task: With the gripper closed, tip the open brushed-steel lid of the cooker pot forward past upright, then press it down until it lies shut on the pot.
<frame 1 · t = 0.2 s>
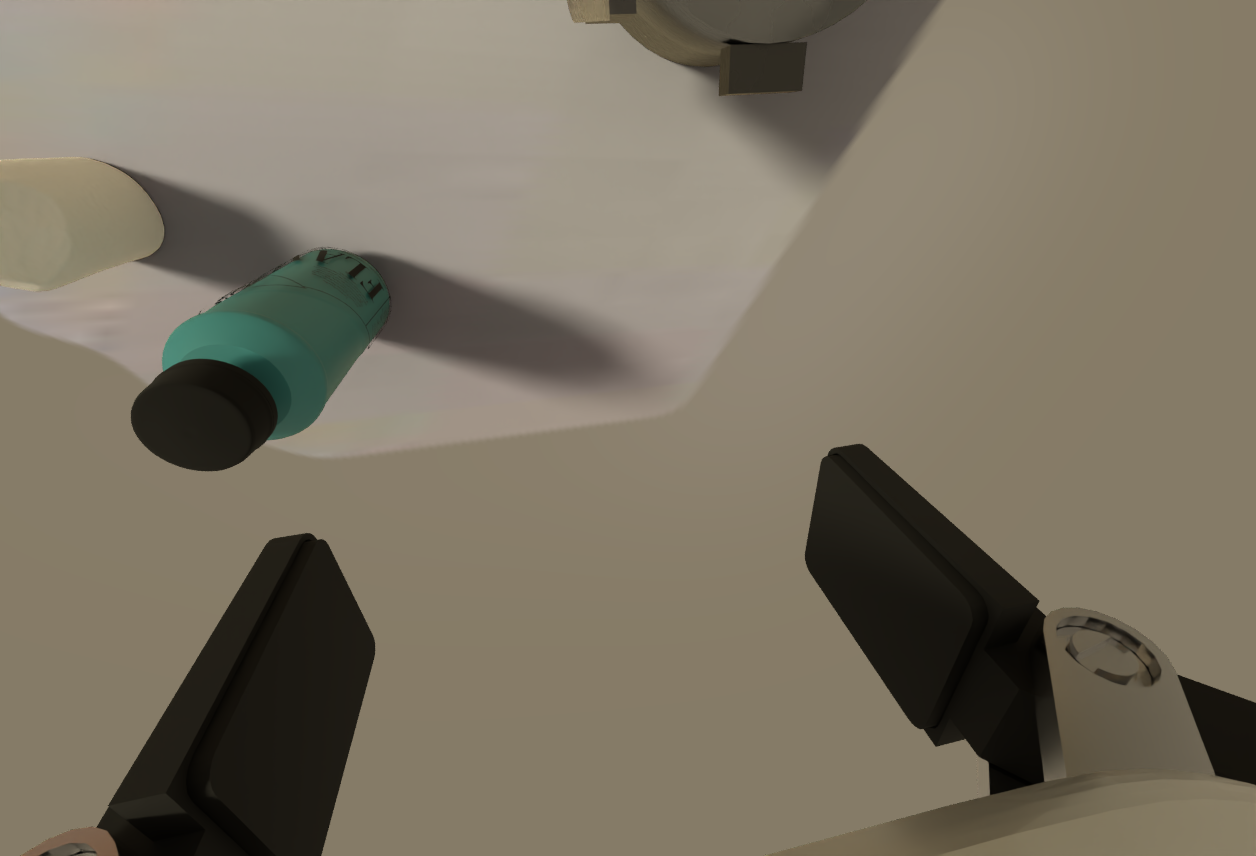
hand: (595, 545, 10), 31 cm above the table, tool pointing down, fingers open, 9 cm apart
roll: (108, 210, 31), on the table
beverage bottle: (348, 289, 35), on the table
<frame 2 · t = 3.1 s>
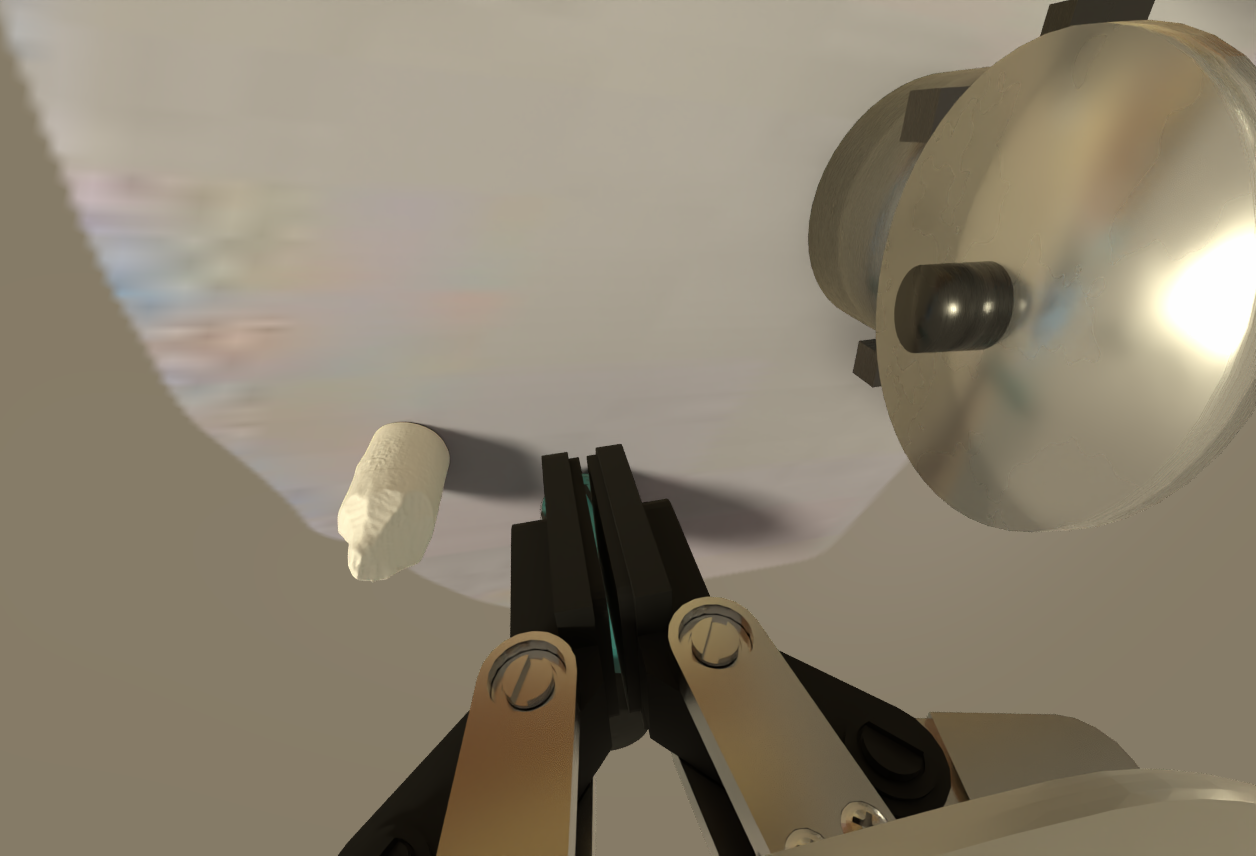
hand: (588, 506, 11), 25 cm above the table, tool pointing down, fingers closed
cooker pot: (915, 211, 35), on the table
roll: (409, 453, 38), on the table
cooker lid: (965, 307, 19), point 18 cm above the table, hinge at 100.0°
beverage bottle: (576, 490, 42), on the table
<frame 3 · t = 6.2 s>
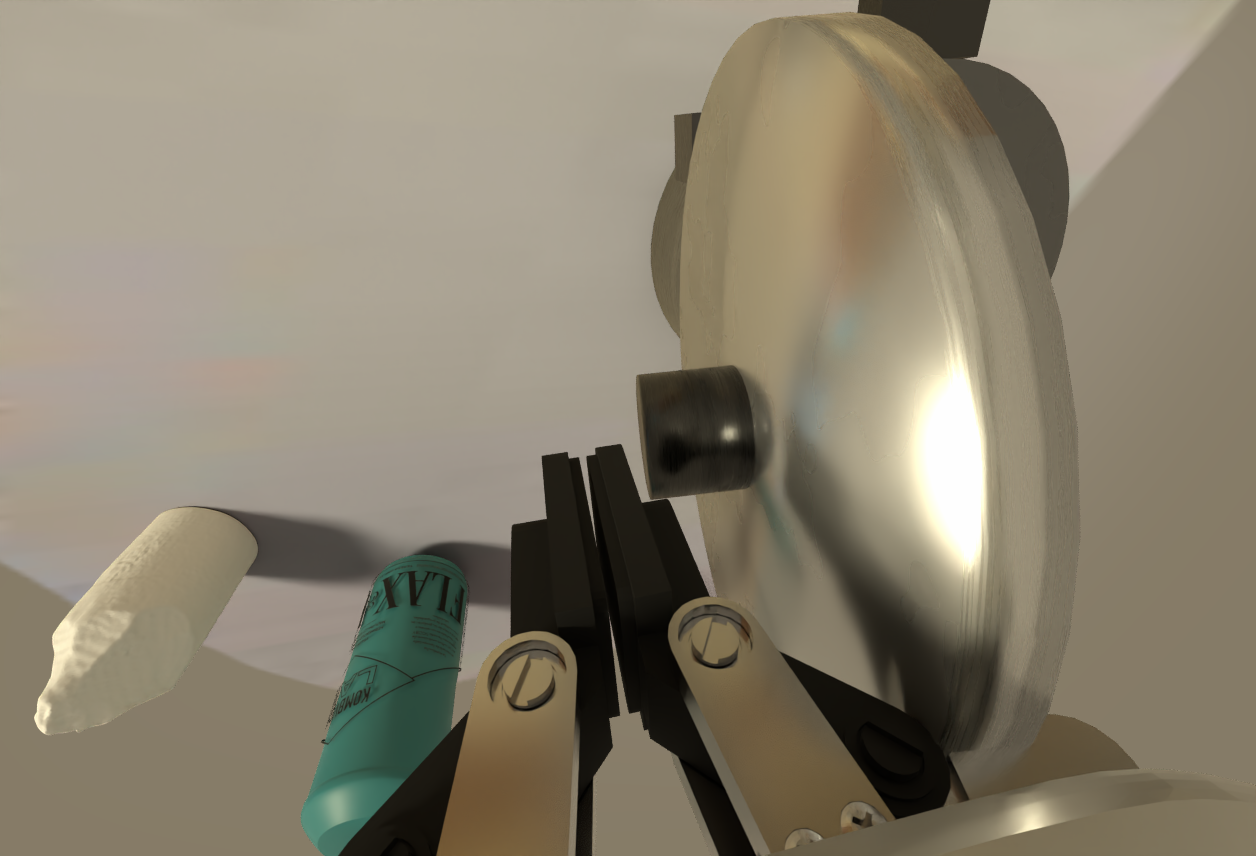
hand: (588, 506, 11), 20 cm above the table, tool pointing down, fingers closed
cooker pot: (782, 246, 30), on the table
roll: (207, 539, 32), on the table
cooker lid: (712, 429, 13), point 18 cm above the table, hinge at 95.9°, touching gripper
beverage bottle: (425, 568, 37), on the table
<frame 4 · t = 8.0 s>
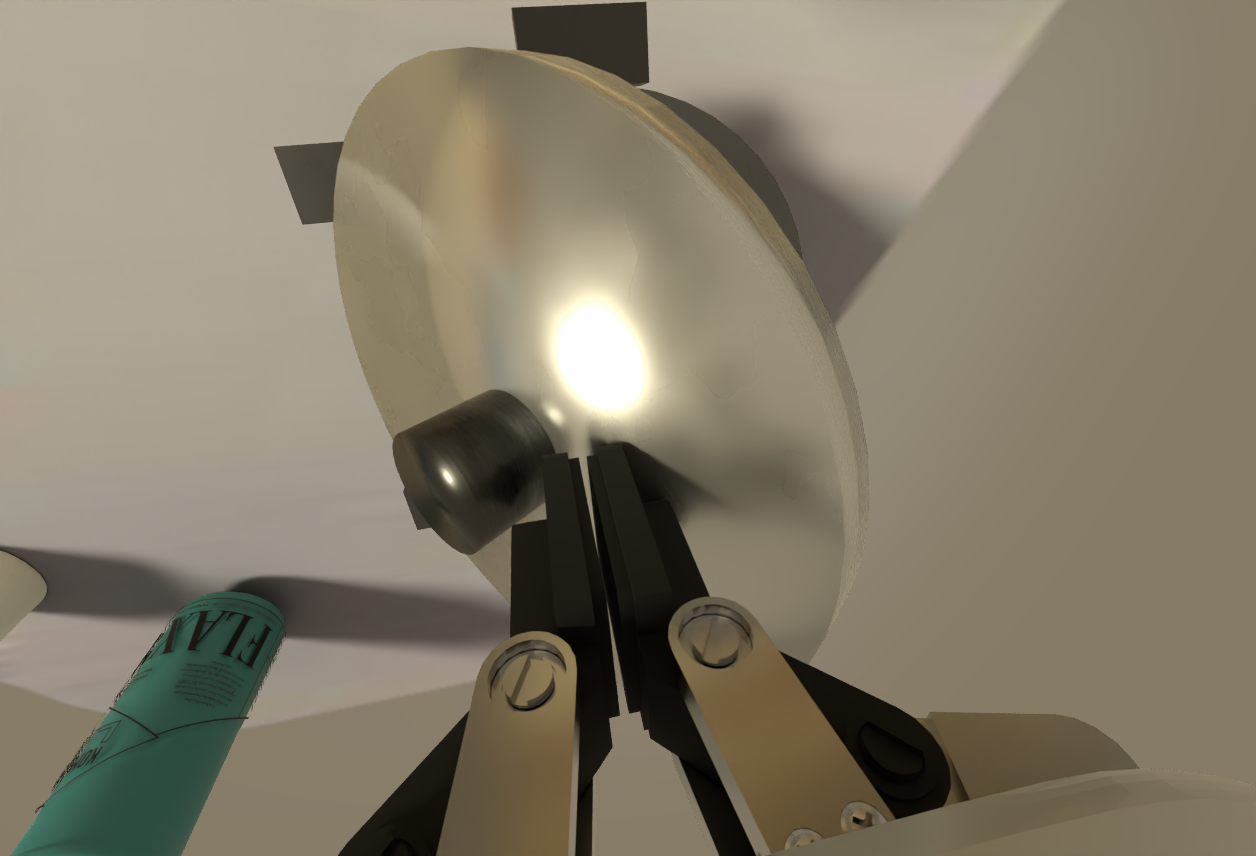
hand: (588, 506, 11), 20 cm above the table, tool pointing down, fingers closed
cooker pot: (581, 272, 28), on the table
cooker lid: (497, 457, 13), point 18 cm above the table, hinge at 50.2°, touching gripper
beverage bottle: (245, 603, 35), on the table
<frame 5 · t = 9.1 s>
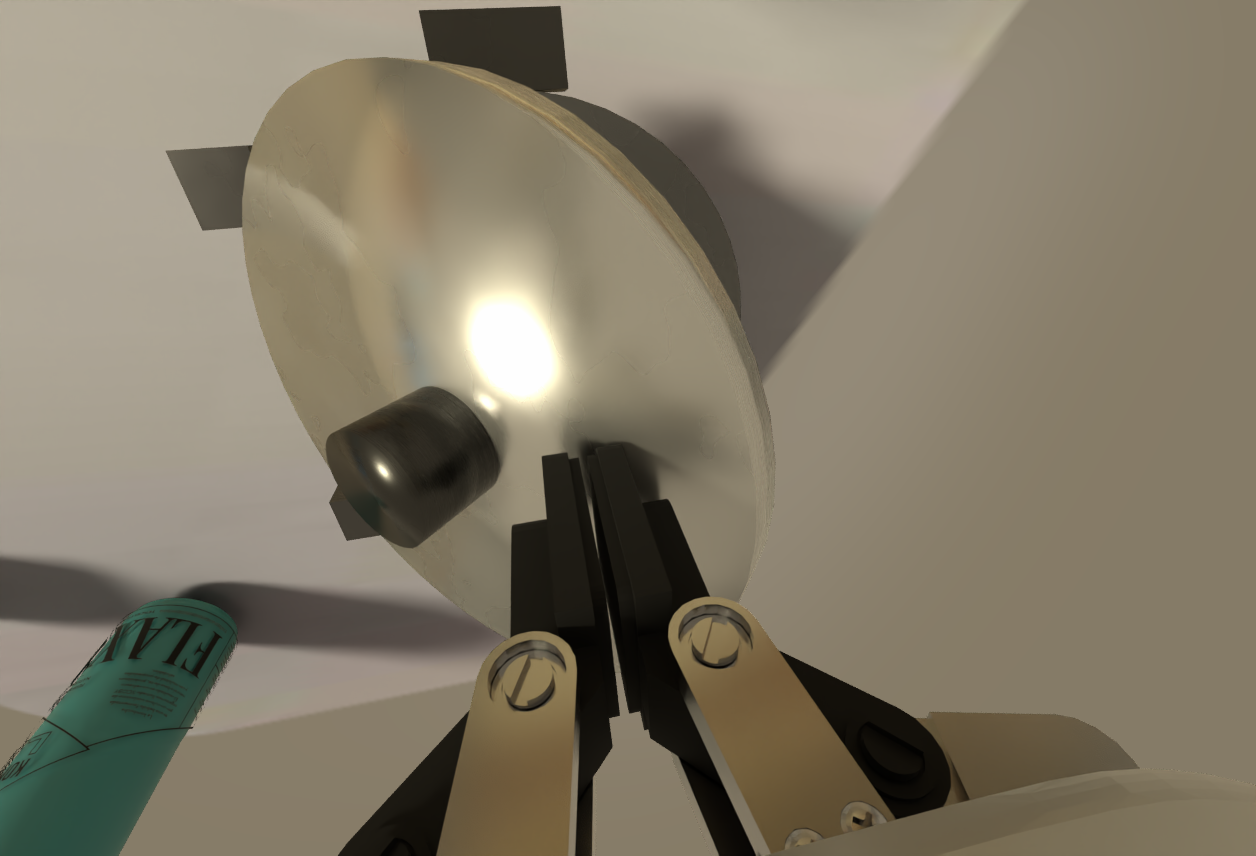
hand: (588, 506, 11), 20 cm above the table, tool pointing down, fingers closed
cooker pot: (533, 278, 28), on the table
cooker lid: (434, 452, 13), point 17 cm above the table, hinge at 41.4°, touching gripper
beverage bottle: (198, 609, 35), on the table
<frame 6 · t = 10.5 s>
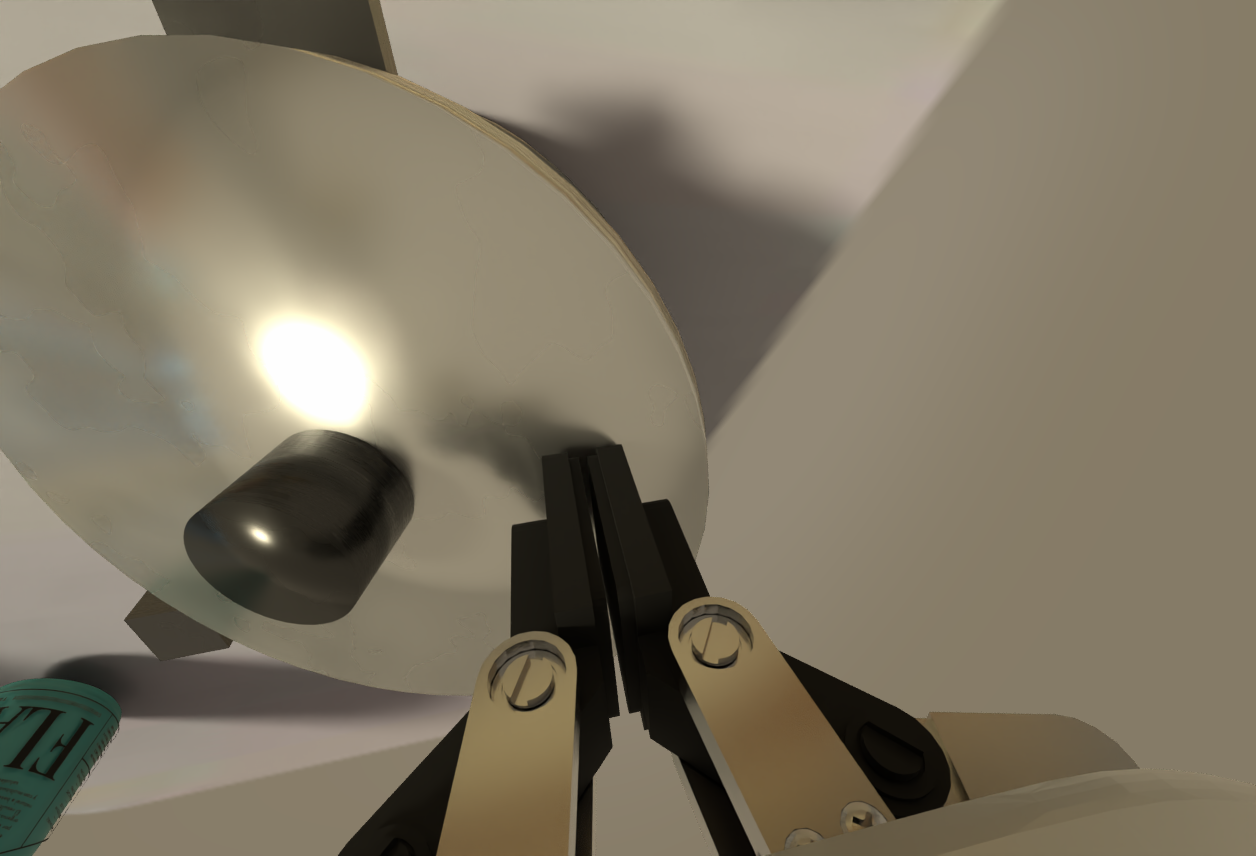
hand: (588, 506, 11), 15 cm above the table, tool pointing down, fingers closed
cooker pot: (438, 306, 23), on the table
cooker lid: (329, 506, 11), point 14 cm above the table, hinge at 16.2°, touching gripper
beverage bottle: (77, 684, 30), on the table
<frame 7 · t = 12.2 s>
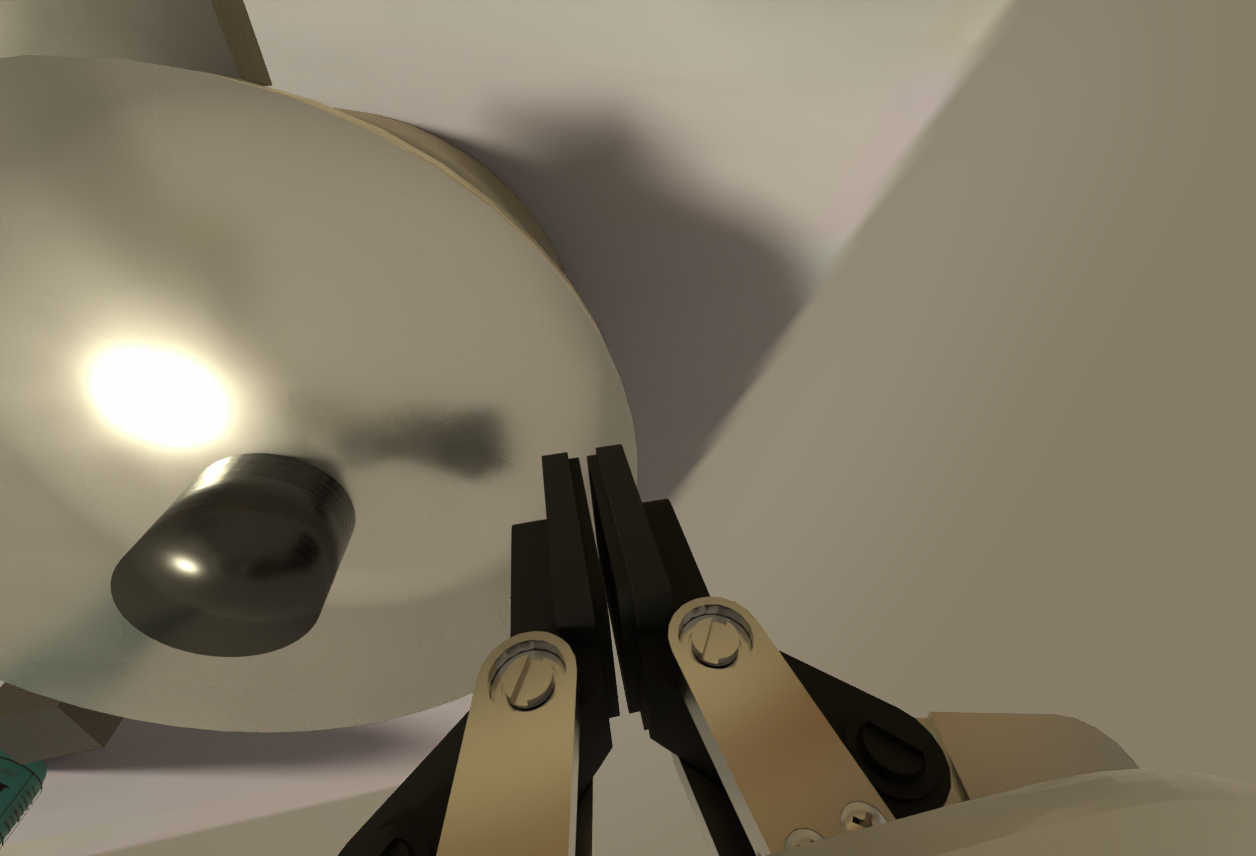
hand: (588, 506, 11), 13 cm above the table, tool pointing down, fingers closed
cooker pot: (381, 337, 21), on the table
cooker lid: (264, 532, 11), point 12 cm above the table, hinge at -0.1°
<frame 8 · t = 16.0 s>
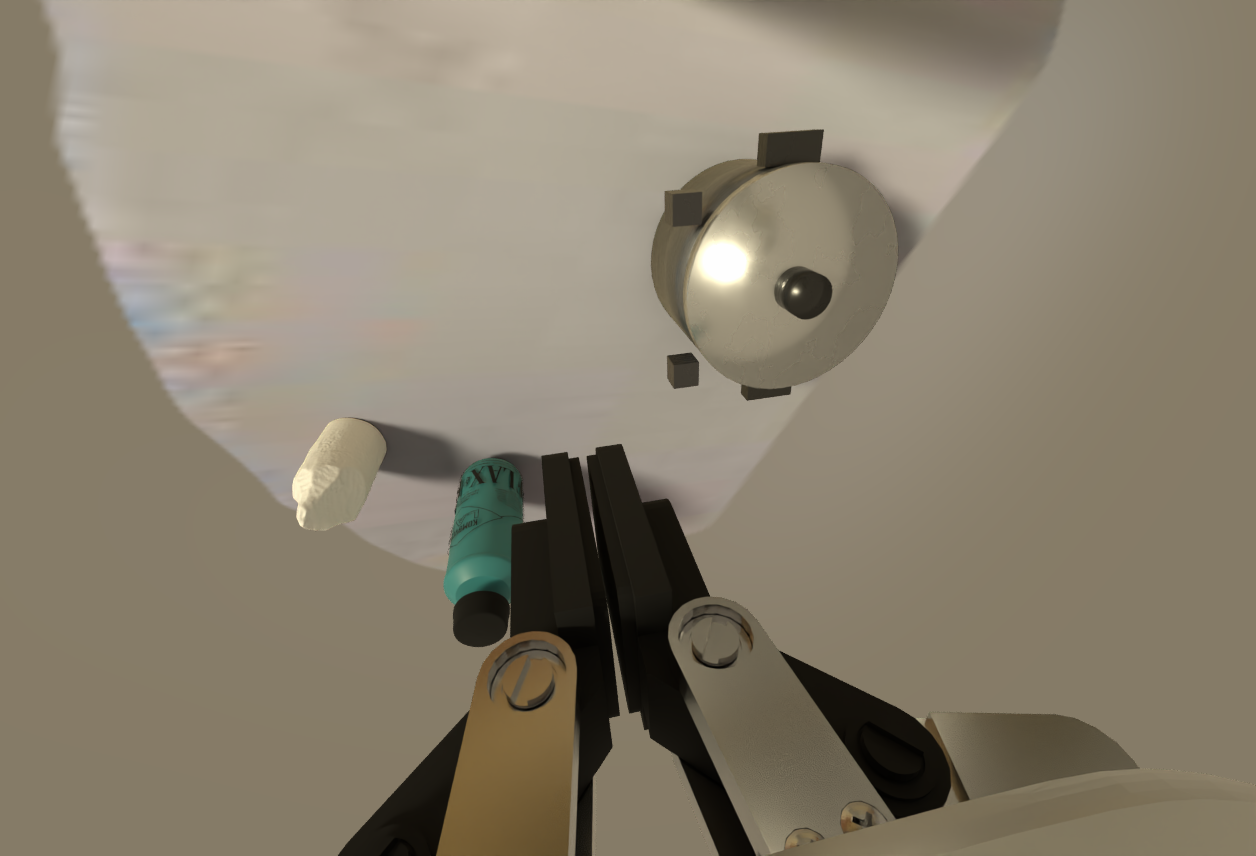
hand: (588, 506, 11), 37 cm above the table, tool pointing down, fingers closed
cooker pot: (734, 256, 47), on the table
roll: (354, 442, 49), on the table
cooker lid: (798, 290, 37), point 12 cm above the table, hinge at -0.1°
beverage bottle: (492, 473, 54), on the table
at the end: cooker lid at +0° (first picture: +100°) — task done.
